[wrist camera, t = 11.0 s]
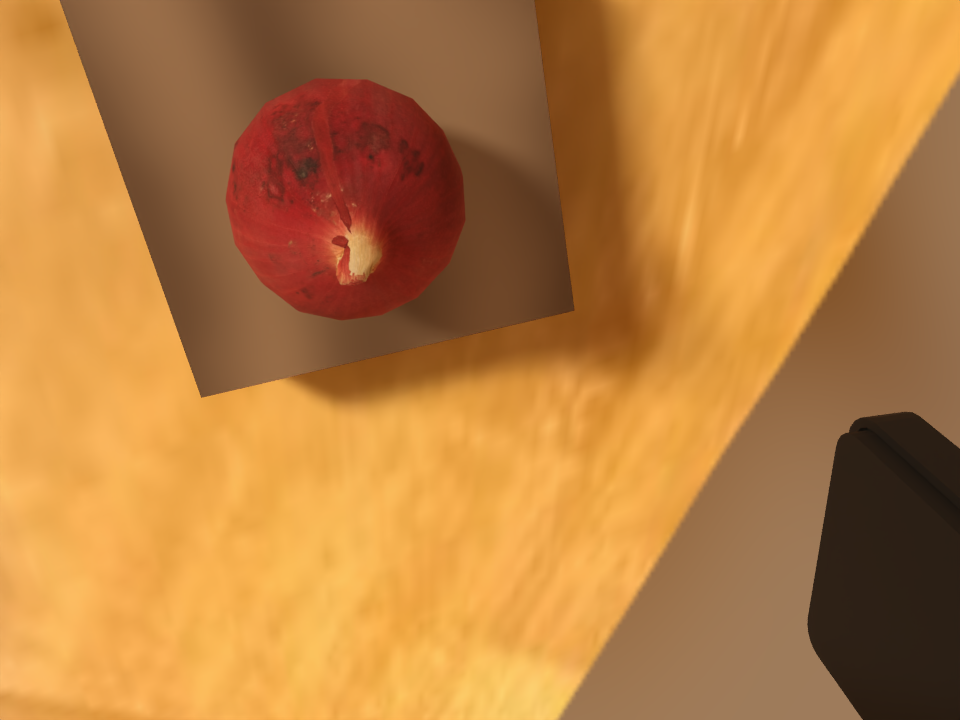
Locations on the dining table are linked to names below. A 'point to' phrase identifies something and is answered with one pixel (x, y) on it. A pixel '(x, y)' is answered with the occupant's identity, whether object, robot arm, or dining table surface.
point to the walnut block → (279, 69)
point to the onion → (345, 198)
